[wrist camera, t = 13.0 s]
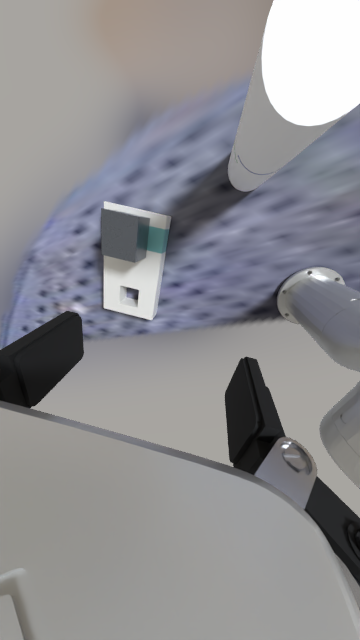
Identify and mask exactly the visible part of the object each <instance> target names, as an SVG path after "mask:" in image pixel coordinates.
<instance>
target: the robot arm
mask: <svg viewBox="0 0 360 640" xmlns="http://www.w3.org/2000/svg"><path fill="white" fill-rule="evenodd" d="M308 271H309V272H308ZM307 272H308V273H307ZM335 278H336V279H335ZM283 290H284V291H283ZM282 291H283V292H282ZM277 307H278V310H279V312H280V313H281V315H282V316H283V317H284V318H285V319H287V320H288V321H290V322H292V323H296V324H301V326H302V327H303V328H304V329H305V330H306V331H307V332H308V333H309V334H310V335H311V337H312V338H313V339H314V340H315V341H316V342H317V343H318V345H319V346H320V347H321V348H322V349H323V350H324V351H325V352H326V353H327V354H328V355H329V356H330V358H331V359H333V360H334V361H335V362H336V363H338V364H340V365H341V366H344V367H346V368H348V369H351V370H355V371H359V372H360V292H358V291H356V290H354V289H351V288H349V287H347V286H345V282H344V280H343V279H342V277H341V276H340V275H339V274H338V273H337V272H335V271H333V270H331V269H329V268H324V267H310V268H306V269H303V270H300V271H298V272H296V273H295V274H293V275H292V276H290V277H289V278H288V279H287V280H286V281H285V282H284V283H283V285H282V286H281V288H280V290H279V292H278V295H277ZM83 354H84V350H83V334H82V319H81V317H79V314H77V313H74V312H70V311H66V312H64V313H62V314H61V315H59V316H57V317H56V318H54V319H52V320H51V321H49V322H47V323H45V324H44V325H42V326H40V327H39V328H37V329H35V330H34V331H32V332H30V333H28V334H27V335H25V336H23V337H22V338H20V339H18V340H17V341H15V342H13V343H11V344H10V345H8V346H6V347H5V348H3V349H1V350H0V640H360V518H359V517H358V516H357V515H356V514H355V513H354V512H353V511H352V510H351V509H350V508H349V507H348V506H347V505H346V504H345V503H344V502H343V501H342V500H340V498H339V497H338V496H337V495H336V494H335V493H334V492H333V491H332V490H331V489H330V488H329V487H327V486H326V485H325V484H324V483H323V482H322V481H321V480H320V479H319V478H318V477H317V467H316V463H315V462H314V459H313V457H312V456H311V455H310V453H309V452H308V451H307V450H306V449H305V448H304V447H303V446H302V445H301V444H300V443H298V442H297V441H295V440H293V439H291V438H288V437H286V436H285V433H284V430H283V428H282V425H281V422H280V419H279V416H278V413H277V410H276V408H275V405H274V402H273V399H272V397H271V393H270V391H269V389H268V388H267V387H266V386H265V383H264V380H263V377H262V374H261V371H260V368H259V365H258V362H257V360H256V359H253V358H249V357H245V358H244V359H242V358H241V360H240V361H239V364H238V366H237V368H236V370H235V372H234V374H233V377H232V379H231V381H230V383H229V386H228V388H227V390H226V392H225V406H226V418H227V433H228V446H229V458H230V462H232V463H233V466H234V467H230V466H228V465H225V464H222V463H218V462H215V461H212V460H209V459H205V458H202V457H199V456H196V455H192V454H189V453H186V452H182V451H179V450H175V449H172V448H168V447H164V446H161V445H158V444H154V443H151V442H147V441H144V440H141V439H137V438H133V437H130V436H126V435H123V434H119V433H116V432H112V431H109V430H105V429H102V428H98V427H95V426H91V425H88V424H84V423H80V422H77V421H73V420H70V419H66V418H62V417H59V416H55V415H52V414H48V413H44V412H41V411H37V410H33V409H30V408H31V407H32V406H35V405H37V404H38V403H39V402H40V401H41V400H42V399H43V398H44V397H45V396H46V394H48V392H50V390H52V389H53V387H54V386H55V385H56V384H57V383H58V382H59V381H60V380H61V379H62V378H63V377H64V376H65V375H66V374H67V373H68V372H69V371H70V370H71V369H72V368H73V367H74V366H75V365H76V364H77V363H78V362H79V361H80V360H81V359H82V357H83ZM320 437H321V440H322V442H323V445H324V446H325V448H326V450H327V452H328V453H329V455H330V456H331V458H332V459H333V460H334V462H335V463H336V464H337V465H338V467H339V468H340V469H341V470H342V471H343V472H344V473H345V474H346V476H347V477H348V478H349V479H350V480H351V481H352V482H353V483H354V484H355V485H356V486H357V487H358V488H359V489H360V381H359V382H358V383H357V385H356V386H355V387H354V388H353V389H352V390H351V391H350V392H348V393H347V394H346V395H345V396H344V397H343V398H342V399H341V400H340V401H339V402H338V403H337V404H336V405H334V406H333V408H332V409H331V410H330V411H329V412H328V413H327V414H326V415H325V416H324V417H323V419H322V421H321V423H320Z"/></svg>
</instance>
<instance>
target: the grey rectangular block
mask: <svg viewBox="0 0 360 640" xmlns="http://www.w3.org/2000/svg"><path fill="white" fill-rule="evenodd" d="M149 225H150V218H147V217H143V216H138V215H134V214H130V213H125V212H121V211H116V210H109V209H103V208H101V240H102V255H105V256H109V257H113V258H117V259H121V260H125V261H129V262H134V263H136V262H138V261H140V260H142V259H144V258H146V252H147V243H148V234H149Z"/></svg>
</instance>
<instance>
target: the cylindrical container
mask: <svg viewBox="0 0 360 640" xmlns="http://www.w3.org/2000/svg"><path fill="white" fill-rule="evenodd" d="M359 103H360V0H274V1H273V4H272V7H271V10H270V12H269V15H268V19H267V23H266V26H265V30H264V34H263V37H262V41H261V45H260V49H259V52H258V56H257V60H256V63H255V67H254V71H253V75H252V78H251V82H250V86H249V89H248V93H247V97H246V101H245V104H244V108H243V112H242V115H241V119H240V123H239V126H238V130H237V134H236V138H235V141H234V145H233V149H232V152H231V156H230V160H229V164H228V177H229V180H230V182H231V184H232V185H233V186H234V187H235V188H236V189H237V190H240V191H244V192H246V191H252V190H254V189H256V188H258V187H259V186H260V185H261V184H263V183H264V182H265V181H266V180H267V179H269V178H270V177H271V176H272V175H274V174H275V173H276V172H277V171H278V170H280V169H281V168H282V167H283V166H284V165H286V164H287V163H288V162H289V161H290V160H292V159H293V158H294V157H295V156H296V155H298V154H299V153H300V152H301V151H303V150H304V149H305V148H306V147H307V146H309V145H310V144H311V143H312V142H313V141H315V140H316V139H317V138H318V137H319V136H321V135H322V134H323V133H324V132H326V131H327V130H328V129H329V128H330V127H332V126H333V125H334V124H335V123H336V122H338V121H339V120H340V119H341V118H342V117H344V116H345V115H346V114H347V113H349V112H350V111H351V110H352V109H353V108H355V107H356V106H357V105H358V104H359Z"/></svg>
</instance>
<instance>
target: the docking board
mask: <svg viewBox="0 0 360 640" xmlns="http://www.w3.org/2000/svg"><path fill="white" fill-rule="evenodd" d="M104 209H109V210H116V211H121V212H125V213H130V214H134V215H138V216H143V217H147V218H150V225H149V234H148V243H147V252H146V258H144V259H142V260H140V261H138V262H136V263H134V262H129V261H125V260H121V259H117V258H113V257H109V256H105V255H104V308H105V309H109V310H113V311H117V312H121V313H125V314H129V315H133V316H137V317H141V318H145V319H149V320H152V319H153V318H154V316H155V315H156V313H157V306H158V300H159V293H160V287H161V281H162V274H163V268H164V261H165V255H166V248H167V242H168V235H169V229H170V222H171V216H167V215H162V214H158V213H153V212H149V211H145V210H140V209H136V208H132V207H127V206H123V205H118V204H114V203H110V202H105V201H104ZM127 287H129V288H133V289H137V290H139V297H138V300H135V299H131V298H127V297H126V294H127Z"/></svg>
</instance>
